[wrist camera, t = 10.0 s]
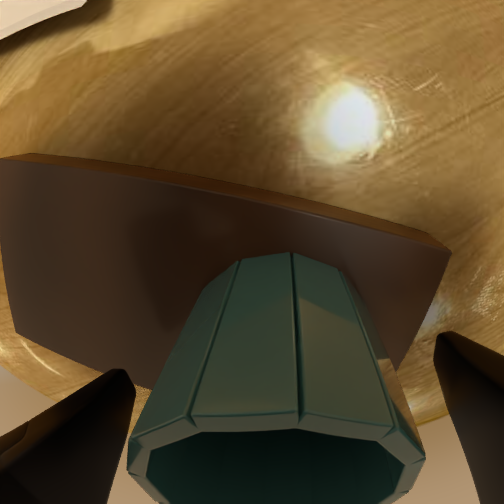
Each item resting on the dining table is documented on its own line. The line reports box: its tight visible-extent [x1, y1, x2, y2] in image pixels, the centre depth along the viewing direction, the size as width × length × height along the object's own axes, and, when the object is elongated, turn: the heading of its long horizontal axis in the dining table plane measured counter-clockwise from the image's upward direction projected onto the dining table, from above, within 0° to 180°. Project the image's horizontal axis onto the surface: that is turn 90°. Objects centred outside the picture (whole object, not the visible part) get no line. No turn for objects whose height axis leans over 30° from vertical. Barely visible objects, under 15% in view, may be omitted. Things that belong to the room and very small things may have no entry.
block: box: [0, 153, 452, 390], centre depth 10 cm, size 16×8×2 cm, turn 78°
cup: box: [127, 252, 426, 504], centre depth 7 cm, size 5×5×6 cm
